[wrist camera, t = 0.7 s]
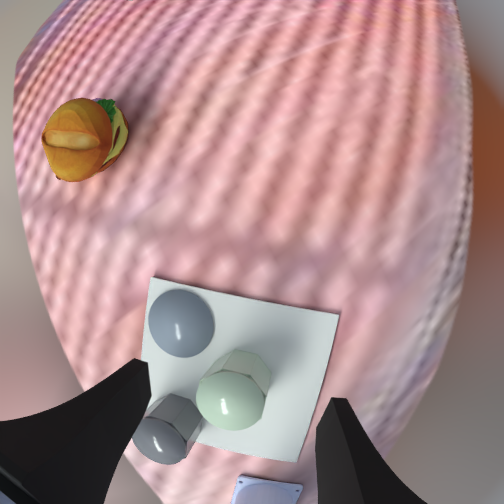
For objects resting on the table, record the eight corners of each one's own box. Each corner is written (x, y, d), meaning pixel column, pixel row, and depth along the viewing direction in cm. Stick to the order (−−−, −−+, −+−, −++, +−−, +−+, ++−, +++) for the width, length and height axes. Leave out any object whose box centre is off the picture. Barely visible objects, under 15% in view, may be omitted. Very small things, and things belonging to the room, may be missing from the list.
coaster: (208, 364, 28) (207, 365, 27) (146, 346, 28) (145, 347, 28) (219, 298, 28) (218, 298, 27) (154, 282, 28) (152, 283, 28)
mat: (296, 460, 26) (296, 462, 26) (140, 419, 29) (138, 421, 28) (338, 314, 27) (339, 315, 26) (152, 276, 29) (150, 277, 29)
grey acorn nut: (199, 441, 27) (183, 471, 21) (154, 426, 28) (131, 452, 22) (205, 403, 27) (187, 431, 21) (156, 388, 28) (131, 410, 22)
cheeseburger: (128, 91, 31) (90, 63, 21) (150, 162, 32) (110, 152, 23) (69, 126, 31) (23, 114, 22) (86, 195, 33) (38, 198, 23)
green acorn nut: (263, 405, 27) (257, 436, 21) (210, 393, 27) (192, 421, 21) (274, 357, 27) (270, 381, 21) (217, 345, 27) (200, 364, 22)
